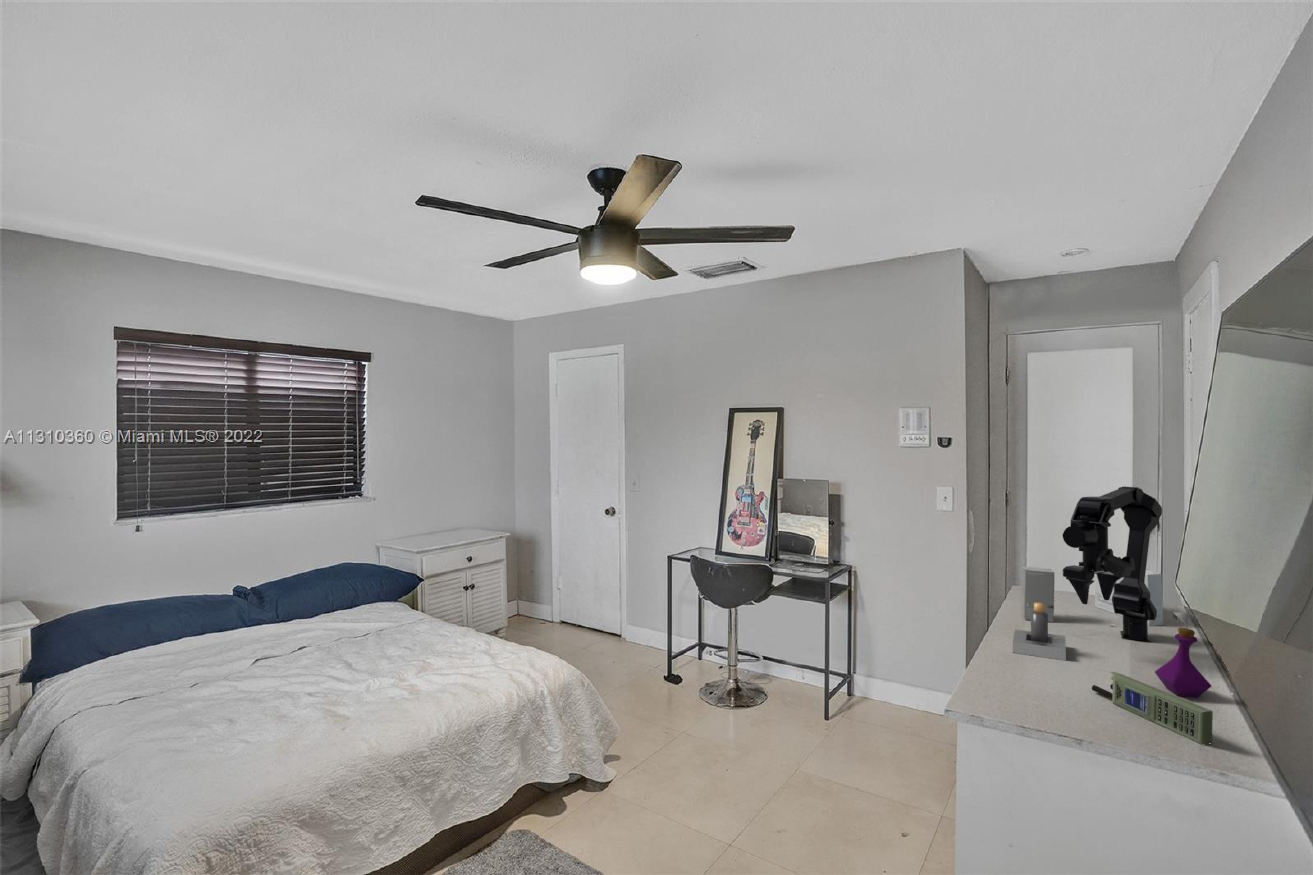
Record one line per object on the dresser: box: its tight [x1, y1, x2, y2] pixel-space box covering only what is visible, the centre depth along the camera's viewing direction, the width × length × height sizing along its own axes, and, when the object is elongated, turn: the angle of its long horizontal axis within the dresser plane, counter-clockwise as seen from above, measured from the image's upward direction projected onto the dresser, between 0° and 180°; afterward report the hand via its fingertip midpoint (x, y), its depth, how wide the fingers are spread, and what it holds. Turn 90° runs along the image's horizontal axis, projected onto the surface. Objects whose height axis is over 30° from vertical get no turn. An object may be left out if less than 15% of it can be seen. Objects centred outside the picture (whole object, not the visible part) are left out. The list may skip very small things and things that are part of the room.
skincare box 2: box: [1093, 569, 1164, 627], centre depth 204 cm, size 21×6×16 cm, turn 6°
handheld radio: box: [1091, 671, 1214, 745], centre depth 133 cm, size 7×3×25 cm
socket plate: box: [1012, 629, 1067, 661], centre depth 173 cm, size 12×12×3 cm
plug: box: [1030, 603, 1049, 643], centre depth 173 cm, size 4×4×12 cm
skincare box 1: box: [1021, 566, 1055, 623], centre depth 202 cm, size 8×7×16 cm
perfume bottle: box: [1154, 612, 1212, 698], centre depth 144 cm, size 8×8×18 cm
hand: (1095, 602), depth 172 cm, fingers open, 9 cm apart
